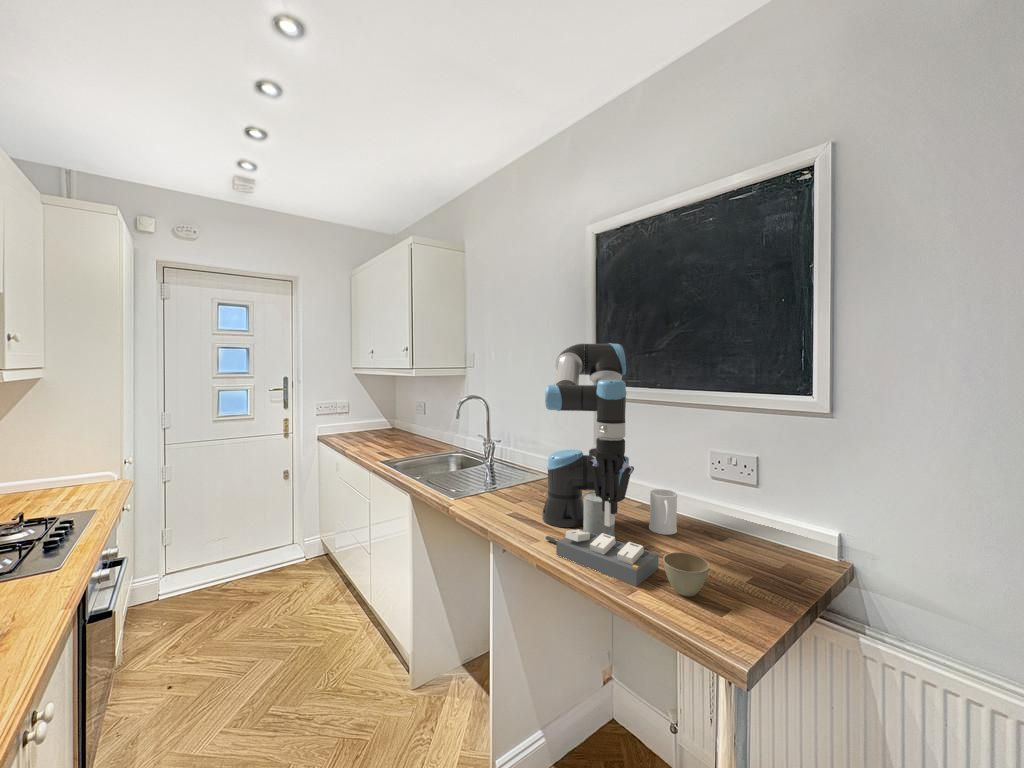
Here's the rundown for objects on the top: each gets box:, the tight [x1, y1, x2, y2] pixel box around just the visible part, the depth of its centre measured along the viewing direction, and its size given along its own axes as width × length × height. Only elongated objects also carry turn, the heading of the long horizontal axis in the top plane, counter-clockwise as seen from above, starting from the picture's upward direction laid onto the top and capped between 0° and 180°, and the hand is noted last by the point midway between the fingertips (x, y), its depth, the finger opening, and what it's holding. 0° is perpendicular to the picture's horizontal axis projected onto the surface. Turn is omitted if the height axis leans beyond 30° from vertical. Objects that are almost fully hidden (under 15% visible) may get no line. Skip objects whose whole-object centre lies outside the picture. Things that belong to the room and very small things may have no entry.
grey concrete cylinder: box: [582, 491, 616, 538], centre depth 134 cm, size 10×10×12 cm
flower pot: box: [662, 551, 710, 597], centre depth 102 cm, size 10×10×7 cm
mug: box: [648, 488, 678, 536], centre depth 138 cm, size 12×8×12 cm
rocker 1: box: [564, 529, 590, 542], centre depth 121 cm, size 4×6×2 cm, turn 137°
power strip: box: [545, 529, 660, 588], centre depth 120 cm, size 33×12×4 cm, turn 47°
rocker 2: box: [590, 533, 617, 555], centre depth 116 cm, size 4×6×2 cm, turn 137°
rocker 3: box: [617, 541, 645, 565], centre depth 110 cm, size 4×6×2 cm, turn 137°
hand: (609, 524), depth 118 cm, fingers closed
